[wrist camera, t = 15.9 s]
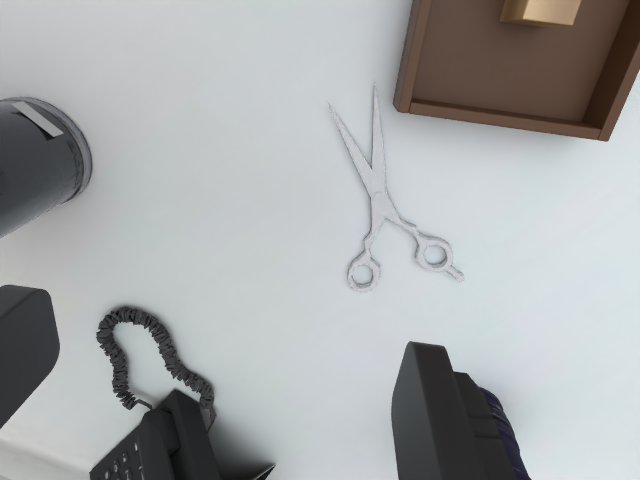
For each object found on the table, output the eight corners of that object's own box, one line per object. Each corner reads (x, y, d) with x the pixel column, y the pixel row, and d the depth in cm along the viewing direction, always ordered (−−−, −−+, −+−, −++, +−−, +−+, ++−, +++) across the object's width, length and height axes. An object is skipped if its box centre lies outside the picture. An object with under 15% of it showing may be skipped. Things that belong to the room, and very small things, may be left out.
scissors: (358, 307, 41) (287, 111, 33) (357, 302, 42) (288, 110, 34) (464, 281, 39) (417, 66, 31) (462, 276, 40) (415, 65, 32)
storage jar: (514, 431, 49) (577, 579, 36) (434, 453, 51) (465, 599, 38) (488, 373, 45) (547, 513, 32) (404, 399, 48) (426, 540, 34)
